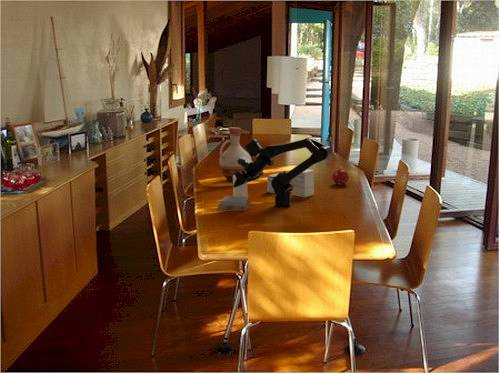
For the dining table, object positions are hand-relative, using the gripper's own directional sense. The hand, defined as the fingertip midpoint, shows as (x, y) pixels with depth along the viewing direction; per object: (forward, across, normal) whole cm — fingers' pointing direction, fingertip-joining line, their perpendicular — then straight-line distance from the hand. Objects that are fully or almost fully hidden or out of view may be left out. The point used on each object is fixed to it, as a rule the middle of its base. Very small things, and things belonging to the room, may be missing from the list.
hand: (238, 185), depth 257 cm
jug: (+21, -32, -10) cm, 40 cm away
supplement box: (-12, -22, +22) cm, 34 cm away
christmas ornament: (-18, -51, +28) cm, 61 cm away
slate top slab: (+1, +12, +7) cm, 14 cm away
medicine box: (-1, -22, +11) cm, 25 cm away
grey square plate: (+2, +12, +9) cm, 15 cm away
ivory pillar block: (+4, 0, +6) cm, 7 cm away
